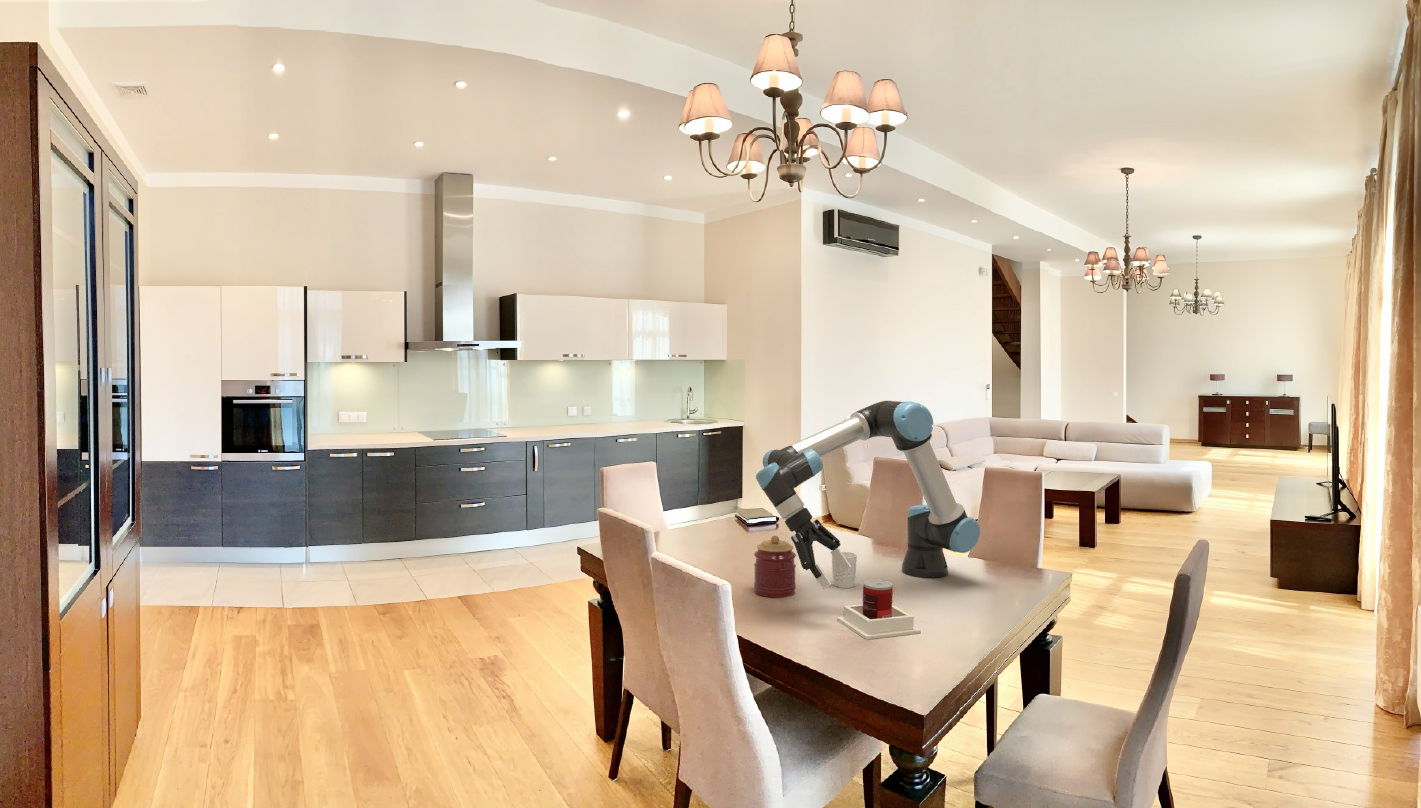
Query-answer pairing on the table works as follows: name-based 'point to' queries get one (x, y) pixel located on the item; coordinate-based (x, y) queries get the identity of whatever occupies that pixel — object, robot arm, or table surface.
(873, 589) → the canned food
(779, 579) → the canister
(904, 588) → the table surface
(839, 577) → the white cup
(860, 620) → the white square tray
